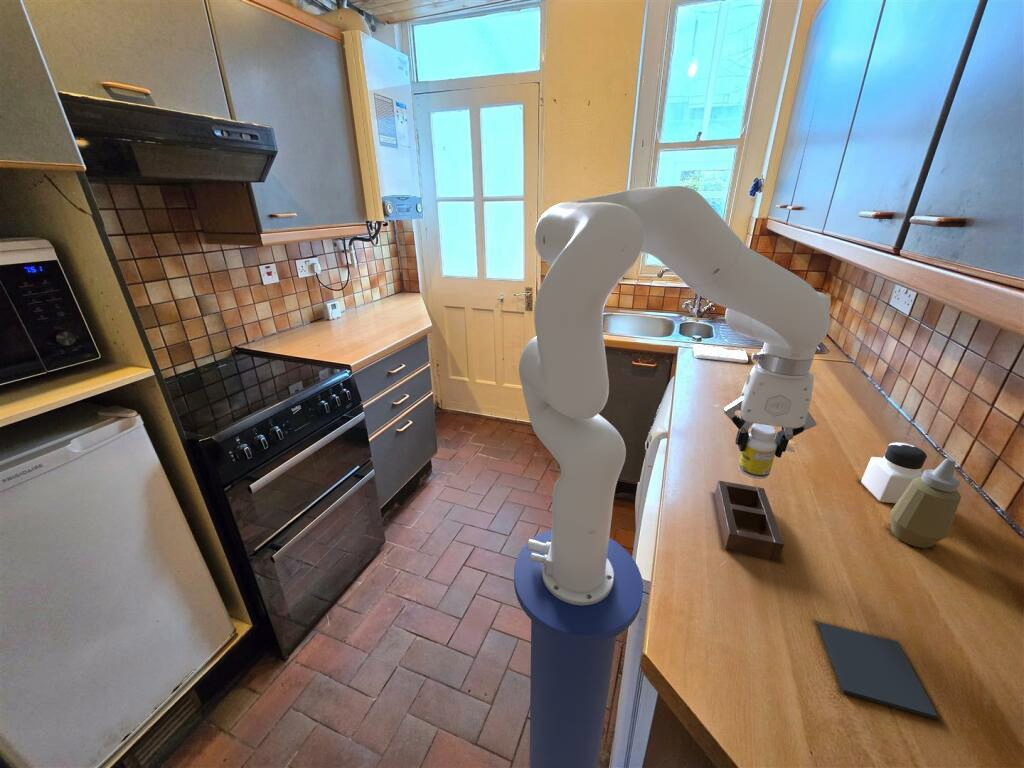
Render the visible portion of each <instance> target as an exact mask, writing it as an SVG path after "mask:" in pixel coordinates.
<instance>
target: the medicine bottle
mask: <svg viewBox="0 0 1024 768" xmlns="http://www.w3.org/2000/svg"><path fill="white" fill-rule="evenodd" d="M927 458H928V456H927V453H926V452H925V451H924V450H922V449H921V448H919V447H917V446H915V445H913V444H909V443H906V442H891V443H889V444H888V446H887V448H886V450H885V453H884V455H883V457H878V456H871V457H870V459H869V461H868V464H867V467H866V469H865V471H864V473H863V475H862V478H861V481H860V482H861V484H862V485H863V486H864V487H865V488H866V489H867V490H868V491H869V492H870V493H871V495H873V496H874V497H875V498H876V499H877V501H878V502H879V503H885V504H886V503H887V504H889V503H890V504H896V503H897V501H898V500H899V498H900V497H901V496H902V494H903V493H904V491H905V490H906V488H907V487H908V485H909V484H910V483H911V481H912V480H913V479H914V478H919V477H922V475H923V473H924V472H923V471H921V470H922V469H923V466H924V464H925V462H926V460H927Z"/></svg>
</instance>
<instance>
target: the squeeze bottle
mask: <svg viewBox="0 0 1024 768" xmlns="http://www.w3.org/2000/svg"><path fill="white" fill-rule="evenodd" d="M956 461H957V460H956V459H954V458H951V457H946V458H945V459H944V460H943V461H942V462H941V463H940V464H939V465H938V466H937V467H936V468H935V469H933V468H927V469H925V470H924V471H923V472H922V473H923V475H922V477H919V478H914V479H913V480H912V481H911V483H910V484H909V485H908V487H907V488H906V490H905V491H904V493H903V494H902V496H901V497H900V498H899V500H898V501H897V503H894V506H893V507H892V508H891V510H890V512H889V515H890V516H889V517H890V518H889V519H890V520H889V521H890V531H891V533H892V534H893V535H894V537H896V538H897V539H899V540H900V541H902V542H904V543H906V544H908V545H909V546H914V547H916V548H921V549H922V548H923V549H927V548H931V547H933V546H934V545H936V544H937V543H938V542H939V543H940V542H941V541H942V540H943V539H945V538H946V537H947V536H948V534H949V533H950V529H951V526H952V523H953V521H954V518H955V516H956V513H957V511H958V507H959V504H960V502H961V499H962V495H961V493H960V492H959V491H958V488H959V486H960V484H961V481H960V479H958V478H957V477H956V476H955V470H956V469H955V468H956V463H957V462H956Z"/></svg>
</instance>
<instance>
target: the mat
mask: <svg viewBox="0 0 1024 768" xmlns="http://www.w3.org/2000/svg"><path fill="white" fill-rule="evenodd" d="M817 627H818V629H819V632H820V635H821V638H822V640H823V643H824V646H825V649H826V651H827V654H828V656H829V659H830V662H831V664H832V667H833V669H834V673H835V675H836V677H837V681H838V683H839V686H840V688H841V691H842V693H843V694H846V695H850V696H854V697H856V698H860V699H864V700H868V701H871V702H875V703H878V704H882V705H884V706H888V707H892V708H896V709H899V710H902V711H907V712H909V713H913V714H917V715H920V716H923V717H926V718H930V719H934V720H937V719H938V718H939V715H938V714H937V711H936V710H935V707H934V706H933V704H932V702H931V700H930V699H929V696H928V694H927V693H926V691H925V689H924V687H923V686H922V683H921V681H920V680H919V678H918V676H917V674H916V673H915V671H914V669H913V667H912V665H911V663H910V661H909V660H908V658H907V655H906V654H905V652H904V650H903V649H902V647H901V645H900V643H899V641H896V640H893V639H888V638H884V637H880V636H877V635H872V634H868V633H864V632H859V631H856V630H852V629H848V628H843V627H839V626H836V625H832V624H828V623H824V622H817Z"/></svg>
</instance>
